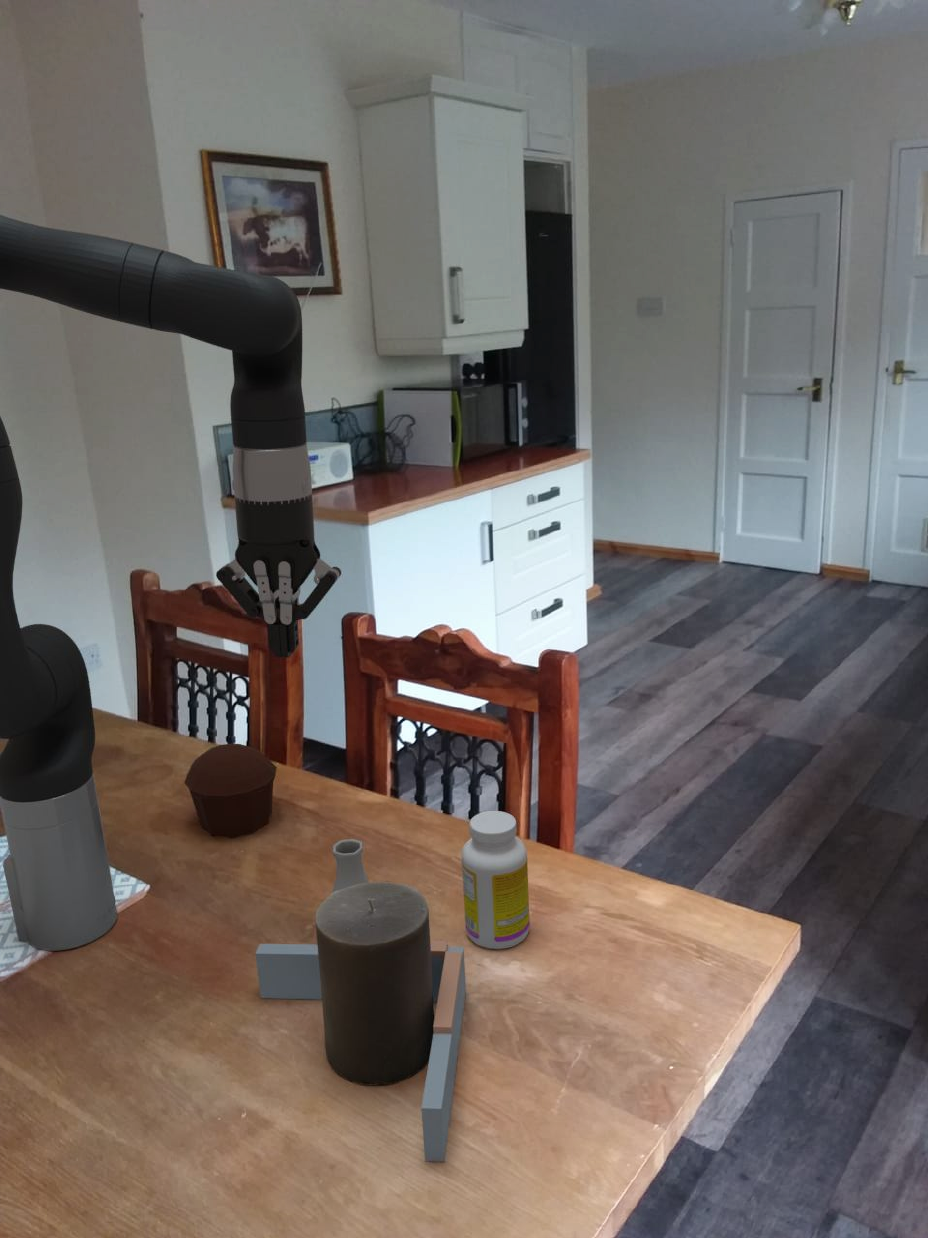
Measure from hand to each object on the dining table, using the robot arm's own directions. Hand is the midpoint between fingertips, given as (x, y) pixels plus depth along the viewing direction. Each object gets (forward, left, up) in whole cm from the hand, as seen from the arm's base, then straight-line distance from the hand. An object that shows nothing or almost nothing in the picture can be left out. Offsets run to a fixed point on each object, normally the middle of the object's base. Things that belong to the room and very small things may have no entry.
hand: (284, 654), depth 102 cm
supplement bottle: (+22, -7, -29) cm, 37 cm away
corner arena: (+9, -26, -28) cm, 40 cm away
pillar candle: (+12, -24, -29) cm, 39 cm away
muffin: (-13, +16, -29) cm, 35 cm away
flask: (+7, -7, -29) cm, 30 cm away
